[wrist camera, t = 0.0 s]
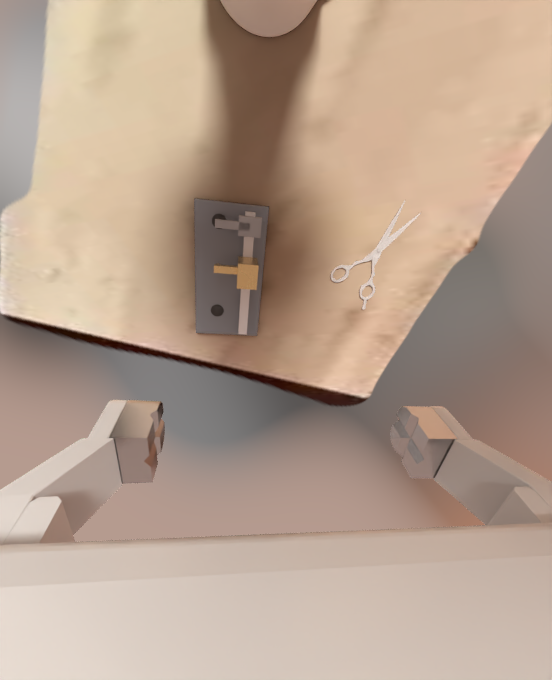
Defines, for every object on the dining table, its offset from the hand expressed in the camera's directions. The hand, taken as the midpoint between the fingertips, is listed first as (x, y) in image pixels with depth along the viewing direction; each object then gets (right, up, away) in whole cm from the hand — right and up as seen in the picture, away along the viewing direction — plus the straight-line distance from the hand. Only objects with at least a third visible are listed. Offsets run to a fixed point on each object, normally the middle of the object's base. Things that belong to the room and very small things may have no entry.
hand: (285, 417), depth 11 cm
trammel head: (-7, +16, +43) cm, 47 cm away
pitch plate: (-9, +15, +46) cm, 49 cm away
